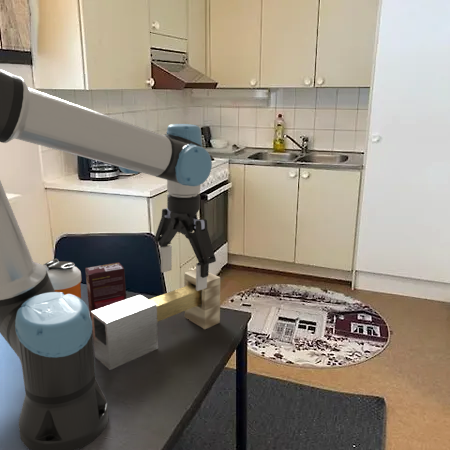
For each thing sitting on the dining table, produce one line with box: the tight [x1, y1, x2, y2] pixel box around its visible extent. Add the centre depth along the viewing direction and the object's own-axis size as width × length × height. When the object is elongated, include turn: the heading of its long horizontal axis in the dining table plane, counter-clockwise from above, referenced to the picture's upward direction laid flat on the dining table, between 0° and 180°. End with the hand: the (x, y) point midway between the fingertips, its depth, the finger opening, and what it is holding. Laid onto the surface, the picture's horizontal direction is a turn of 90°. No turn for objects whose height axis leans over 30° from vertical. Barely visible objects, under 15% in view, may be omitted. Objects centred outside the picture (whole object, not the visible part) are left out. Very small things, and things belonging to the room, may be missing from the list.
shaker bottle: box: [42, 258, 82, 299], centre depth 106 cm, size 9×9×20 cm
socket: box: [183, 268, 221, 330], centre depth 118 cm, size 5×8×13 cm, turn 43°
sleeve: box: [91, 294, 159, 371], centre depth 104 cm, size 12×7×11 cm, turn 133°
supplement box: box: [85, 261, 127, 330], centre depth 114 cm, size 9×5×16 cm, turn 117°
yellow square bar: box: [148, 284, 202, 323], centre depth 111 cm, size 20×4×4 cm, turn 133°
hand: (183, 279), depth 112 cm, fingers open, 13 cm apart
